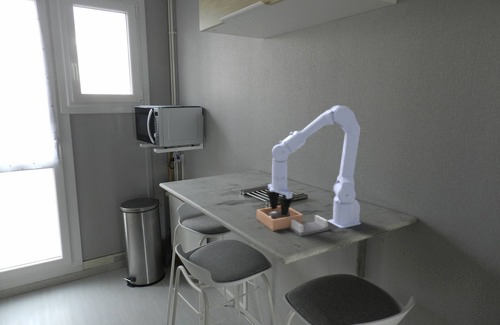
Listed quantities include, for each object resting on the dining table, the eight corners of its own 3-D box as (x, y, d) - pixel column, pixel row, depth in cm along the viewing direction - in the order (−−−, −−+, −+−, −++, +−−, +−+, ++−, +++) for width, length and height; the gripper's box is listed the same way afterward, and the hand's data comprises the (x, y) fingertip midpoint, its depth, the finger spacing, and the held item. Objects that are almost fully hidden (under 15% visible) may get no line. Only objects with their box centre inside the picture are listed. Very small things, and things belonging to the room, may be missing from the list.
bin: (284, 214, 135) (284, 204, 134) (302, 224, 123) (302, 214, 123) (256, 219, 129) (256, 209, 128) (272, 231, 118) (272, 220, 117)
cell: (284, 217, 130) (284, 207, 129) (290, 221, 126) (290, 211, 125) (266, 220, 126) (267, 211, 125) (272, 224, 123) (272, 214, 122)
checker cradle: (316, 223, 125) (317, 214, 124) (328, 229, 119) (329, 220, 118) (289, 229, 120) (289, 219, 119) (300, 236, 114) (300, 226, 113)
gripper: (261, 173, 128) (261, 207, 130) (280, 182, 115) (279, 219, 117) (276, 172, 131) (276, 204, 133) (297, 180, 118) (296, 216, 120)
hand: (279, 211), depth 126 cm, fingers open, 7 cm apart
